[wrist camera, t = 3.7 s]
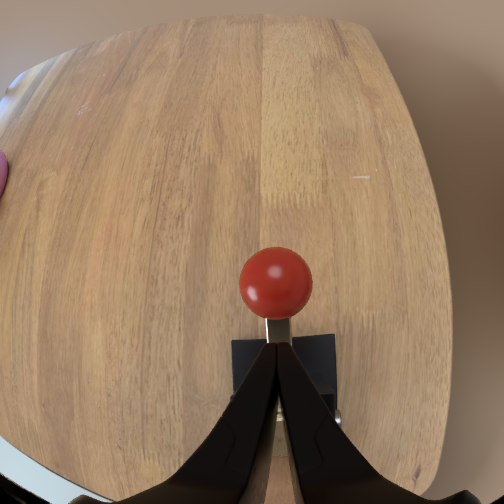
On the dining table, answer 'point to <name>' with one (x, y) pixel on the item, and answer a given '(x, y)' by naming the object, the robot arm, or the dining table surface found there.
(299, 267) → the lever
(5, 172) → the teapot
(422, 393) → the dining table surface
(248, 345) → the switch bracket
